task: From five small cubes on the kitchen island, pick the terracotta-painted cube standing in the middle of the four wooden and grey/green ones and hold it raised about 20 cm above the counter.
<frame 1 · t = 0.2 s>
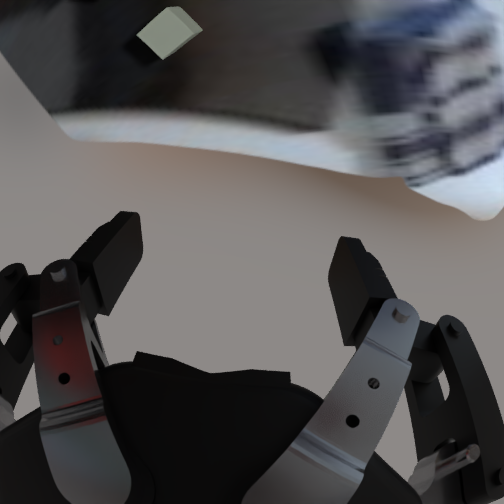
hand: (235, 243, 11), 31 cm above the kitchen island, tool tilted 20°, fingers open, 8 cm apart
sage cube: (176, 29, 25), on the kitchen island
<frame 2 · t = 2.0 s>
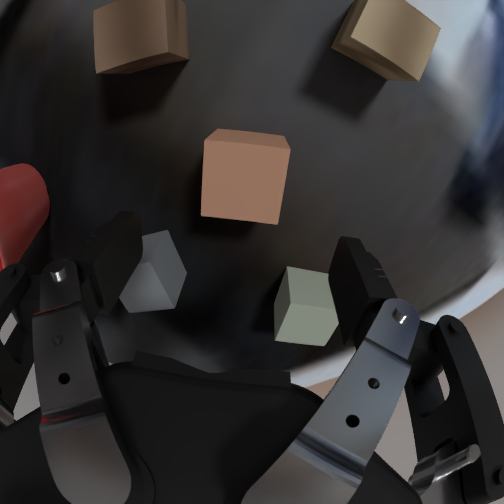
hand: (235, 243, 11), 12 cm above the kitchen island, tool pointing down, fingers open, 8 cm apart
flower pot: (29, 194, 22), on the kitchen island
slate cube: (155, 256, 26), on the kitchen island
oak cube: (371, 39, 14), on the kitchen island
terracotta cube: (247, 162, 20), on the kitchen island
sage cube: (303, 289, 27), on the kitchen island
walnut cube: (156, 38, 15), on the kitchen island
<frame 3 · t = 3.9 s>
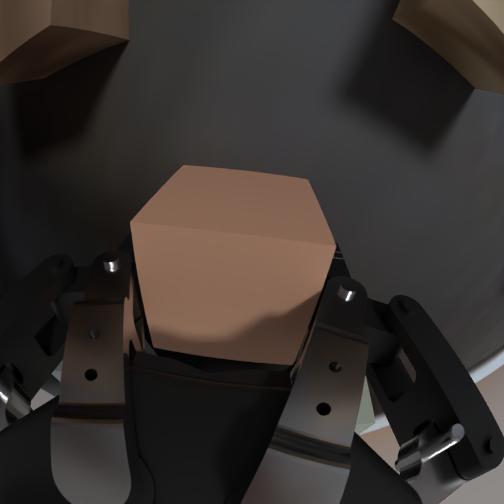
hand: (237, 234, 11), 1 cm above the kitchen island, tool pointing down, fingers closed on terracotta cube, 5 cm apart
oak cube: (450, 18, 5), on the kitchen island
terracotta cube: (239, 226, 12), on the kitchen island, touching gripper
sage cube: (318, 378, 19), on the kitchen island
walnut cube: (81, 14, 6), on the kitchen island
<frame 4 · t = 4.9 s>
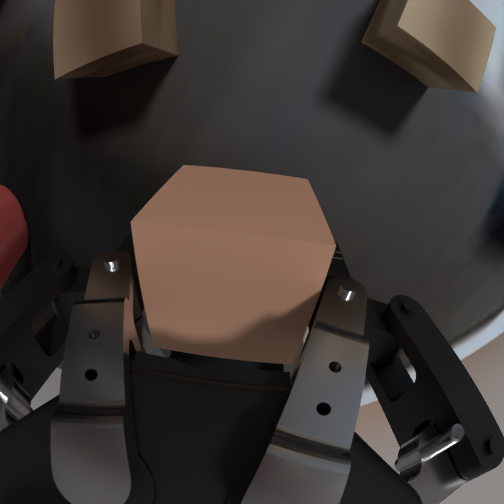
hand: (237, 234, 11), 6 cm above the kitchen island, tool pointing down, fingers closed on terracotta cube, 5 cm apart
flower pot: (8, 218, 18), on the kitchen island
slate cube: (146, 295, 22), on the kitchen island
oak cube: (408, 35, 10), on the kitchen island
terracotta cube: (239, 225, 12), point 5 cm above the kitchen island, touching gripper
walnut cube: (137, 31, 11), on the kitchen island
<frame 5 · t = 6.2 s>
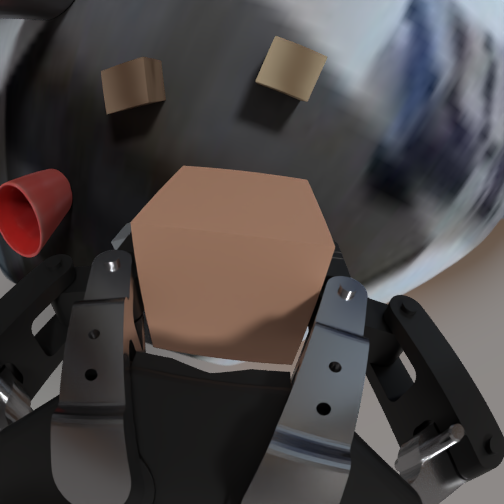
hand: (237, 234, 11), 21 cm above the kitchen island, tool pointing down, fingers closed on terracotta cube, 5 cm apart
flower pot: (56, 191, 32), on the kitchen island
slate cube: (148, 234, 36), on the kitchen island
oak cube: (287, 72, 24), on the kitchen island
terracotta cube: (238, 226, 12), point 20 cm above the kitchen island, touching gripper
walnut cube: (143, 85, 25), on the kitchen island
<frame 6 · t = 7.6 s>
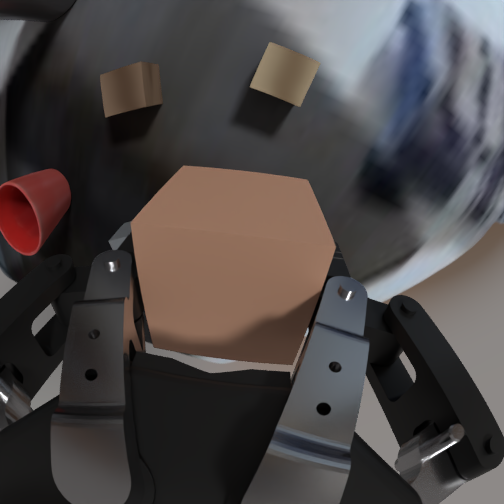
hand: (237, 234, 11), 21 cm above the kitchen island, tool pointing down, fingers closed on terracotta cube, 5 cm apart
flower pot: (55, 191, 33), on the kitchen island
slate cube: (145, 234, 37), on the kitchen island
oak cube: (281, 77, 25), on the kitchen island
terracotta cube: (239, 226, 12), point 21 cm above the kitchen island, touching gripper
walnut cube: (141, 88, 26), on the kitchen island
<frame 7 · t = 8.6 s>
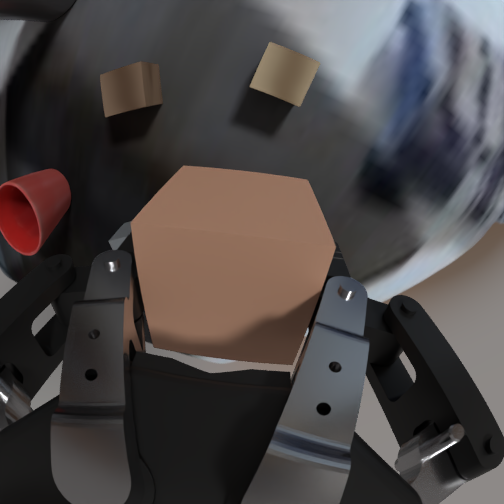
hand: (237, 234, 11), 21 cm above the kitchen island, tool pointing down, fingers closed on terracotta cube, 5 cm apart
flower pot: (55, 191, 33), on the kitchen island
slate cube: (145, 234, 37), on the kitchen island
oak cube: (281, 77, 25), on the kitchen island
terracotta cube: (239, 226, 12), point 21 cm above the kitchen island, touching gripper
walnut cube: (141, 88, 26), on the kitchen island
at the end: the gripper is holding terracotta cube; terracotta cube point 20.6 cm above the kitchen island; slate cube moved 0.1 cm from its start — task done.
